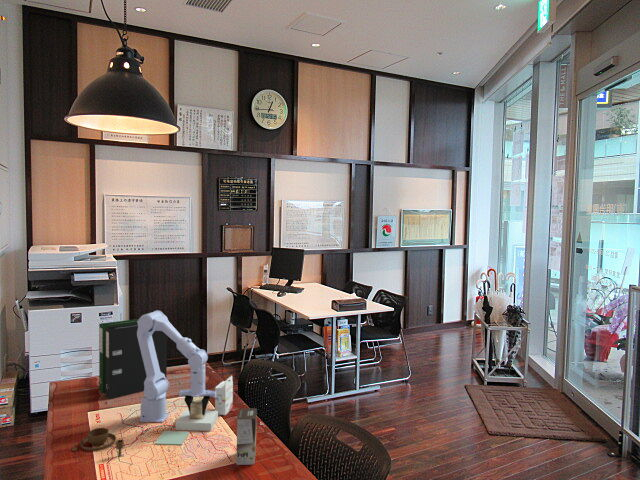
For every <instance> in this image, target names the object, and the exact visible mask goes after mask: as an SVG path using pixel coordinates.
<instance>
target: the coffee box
mask: <svg viewBox="0 0 640 480" xmlns="http://www.w3.org/2000/svg"><path fill="white" fill-rule="evenodd" d="M257 412H258V408H254V407H252V408H251V407H250V408H249V407H248V408H239V410H238V414H237V417H236V422H237V423H236V463H235V465H237V466H242V465H244V466H245V465H247V466H248V465H249V466H251V465H255V460H256V455H257V454H256V453H257V421H258V420H257V415H258V413H257Z"/></svg>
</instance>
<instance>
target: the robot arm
mask: <svg viewBox="0 0 640 480" xmlns="http://www.w3.org/2000/svg"><path fill="white" fill-rule="evenodd" d="M138 319H139V320H138V321H137V323H138V330H137V337H138V342H139V346H140V350H141V354H142V358H143V362H144V367H145V371H146V375H147V377H146V379H145V381H144V391H143V395H144V396H143V397H142V399H141V402H140V419H139V422H141V423H143V422H144V423H145V422H147V423H148V422H149V423H163V422H164V421H165V420H166V419H167V417H168V416H169V415H170V413H169V412H166V410H167V406H166V405H167V403H166V401H167V391H168V390H169V388H170V383H169V380H168V379H167V377H166V378H165V374H163V373H162V372H160V368H159V364H158V360H157V355H156V351H155V347H154V343H153V339H152V334H153V333H154V331H163V332H164V333H165V334H166V335H167V338H168V337H169V339H170V340H171V341H173V342H174V343H175V344H176V349H177V350H178V351H179V352H180V353H181V354H182V355H183V356H184V358H186V359H188V360H187V363H188V365H189V367H190V389H183V390H179V391H178V392H179V393H178V396H179V397H180V398H181V397H184V402H185V404H186V406H187V410H189V413H190V412H191V403H192V401H193V400H194V398H198V397H199V398H200V397H202V399H201V400H202V405H203V410H202V415H205V412H206V410H207V407H208V404H209V401H210V399H211V398H214V399H215V397H216V391H215V390H209V389H206V363H207V361H208V359H209V355H208V353H207V351H206V350H205V349H202V348H201V349H200V348H199V347H198V346H196V344H195V343H193V342H192V341H193V340H192V339H191V338H189V337H183V336H182V335H181V333H180V332H179V331H178V330H177V328H175V327H174V326H173V324H172V323H171V322H170V321H169V319H168V317H167V315H165V314H164V313H163V312H162V311H161V310H159V309H158V310H157V309H156V310H153V312H152V311H151V312H148V313H145V314H142V315H141V316H140V317H139V318H138ZM179 397H178V398H179Z"/></svg>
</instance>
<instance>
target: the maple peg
mask: <svg viewBox="0 0 640 480" xmlns="http://www.w3.org/2000/svg"><path fill="white" fill-rule="evenodd" d="M202 410H203V405H202V399H193V401H192V403H191V412H190V419H201V420H203V418H204V415H202Z"/></svg>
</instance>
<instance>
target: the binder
mask: <svg viewBox="0 0 640 480" xmlns="http://www.w3.org/2000/svg"><path fill="white" fill-rule="evenodd" d="M139 319H140V318H136V319H128V320H120V321H119V320H117V321H110V322H103V323H101V322H100V323H99V329H98V330H99V335H98V336H99V338H98V339H99V340H98V341H99V342H98V343H99V344H98V345H99V346H98V351H99V352H98V353H99V354H98V357H99V359H98V360H99V362H98V363H99V364H98V365H99V367H98V372H99V375H98V378H99V379H98V382H99V383H98V385H99V387H98V390H99V392H100V393H101V394H103V395H104V394H105V397H106V399H108V401H109V400H112V399H118V398H122V397H125V396H131V395H135V394H139V393H144V381H145V379H146V377H147V375H146V371H145V367H144V362H143V358H142V354H141V350H140V346H139V342H138V337H137V330H138V323H137V321H138V320H139ZM152 339H153V343H154V347H155V351H156V355H157V360H158V364H159V368H160V372H162V373H163V374H165V378H166V379H167V375H168V374H167V366H168V365H167V364H168V363H167V362H168V361H167V360H168V359H167V357H168V356H167V354H168V353H167V352H168V351H167V350H168V349H167V348H168V343H167V342H168V341H167V340H168V336H167V335H166V334H165V333H164V332H163V331H154V333H153V334H152Z"/></svg>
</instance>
